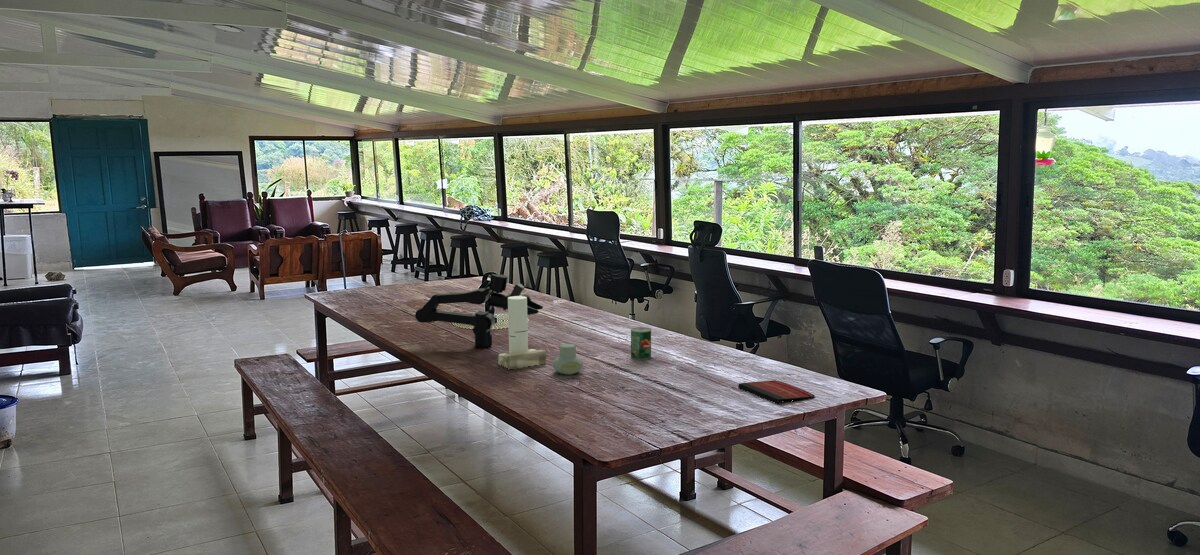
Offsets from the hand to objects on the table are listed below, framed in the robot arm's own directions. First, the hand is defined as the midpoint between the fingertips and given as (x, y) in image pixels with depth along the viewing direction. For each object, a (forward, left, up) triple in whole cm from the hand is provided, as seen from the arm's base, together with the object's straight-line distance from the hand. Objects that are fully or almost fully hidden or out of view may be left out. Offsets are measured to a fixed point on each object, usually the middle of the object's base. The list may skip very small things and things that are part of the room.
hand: (540, 309), depth 332 cm
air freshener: (+5, -41, -16) cm, 44 cm away
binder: (+68, -81, -16) cm, 106 cm away
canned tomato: (+36, -25, -16) cm, 46 cm away
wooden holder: (-10, -25, -16) cm, 31 cm away
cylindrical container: (-11, -23, -16) cm, 30 cm away
